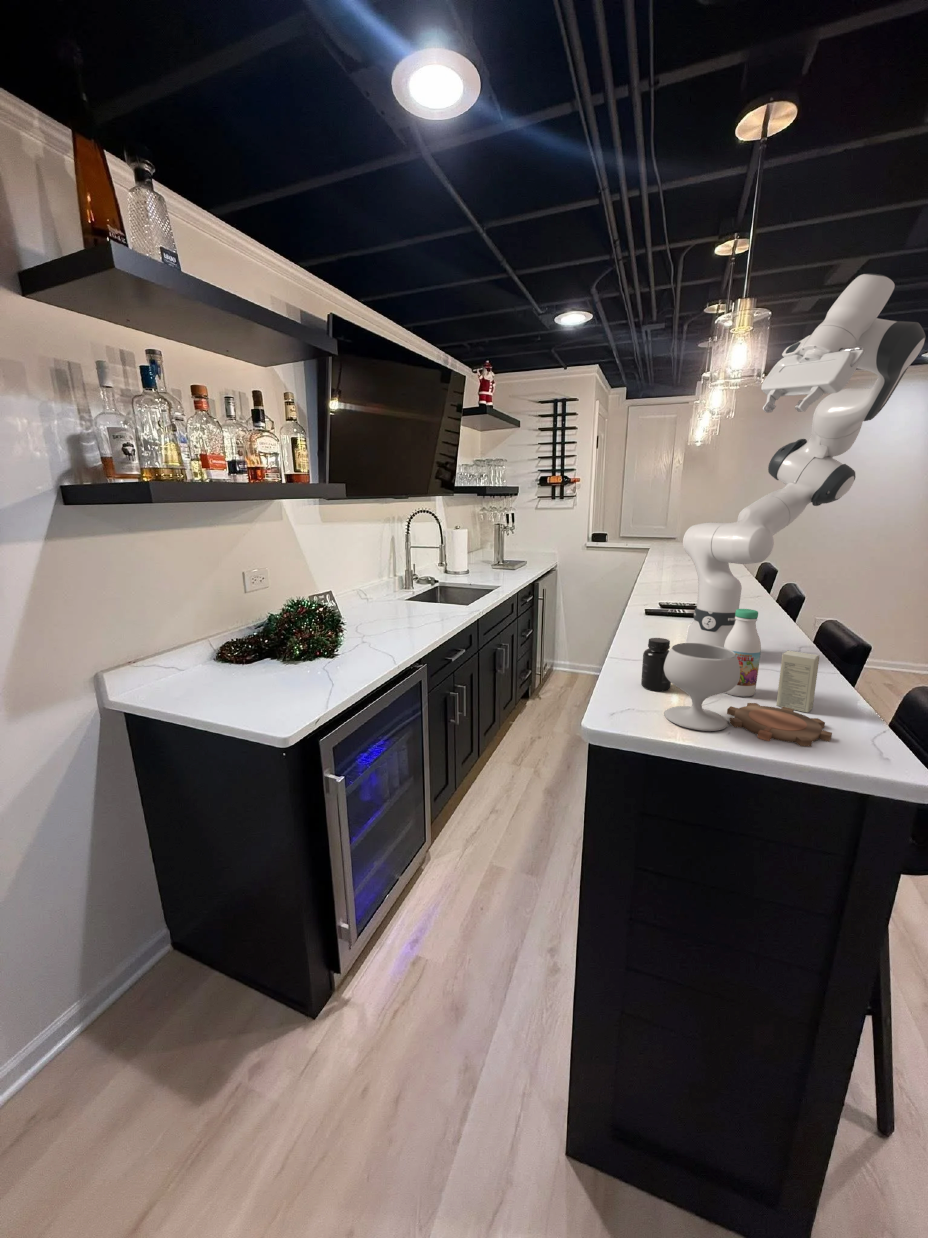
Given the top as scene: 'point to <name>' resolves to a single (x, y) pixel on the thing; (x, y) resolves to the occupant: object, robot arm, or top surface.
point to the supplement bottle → (655, 665)
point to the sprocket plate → (778, 724)
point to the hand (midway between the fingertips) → (782, 410)
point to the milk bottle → (745, 651)
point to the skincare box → (797, 680)
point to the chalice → (700, 682)
